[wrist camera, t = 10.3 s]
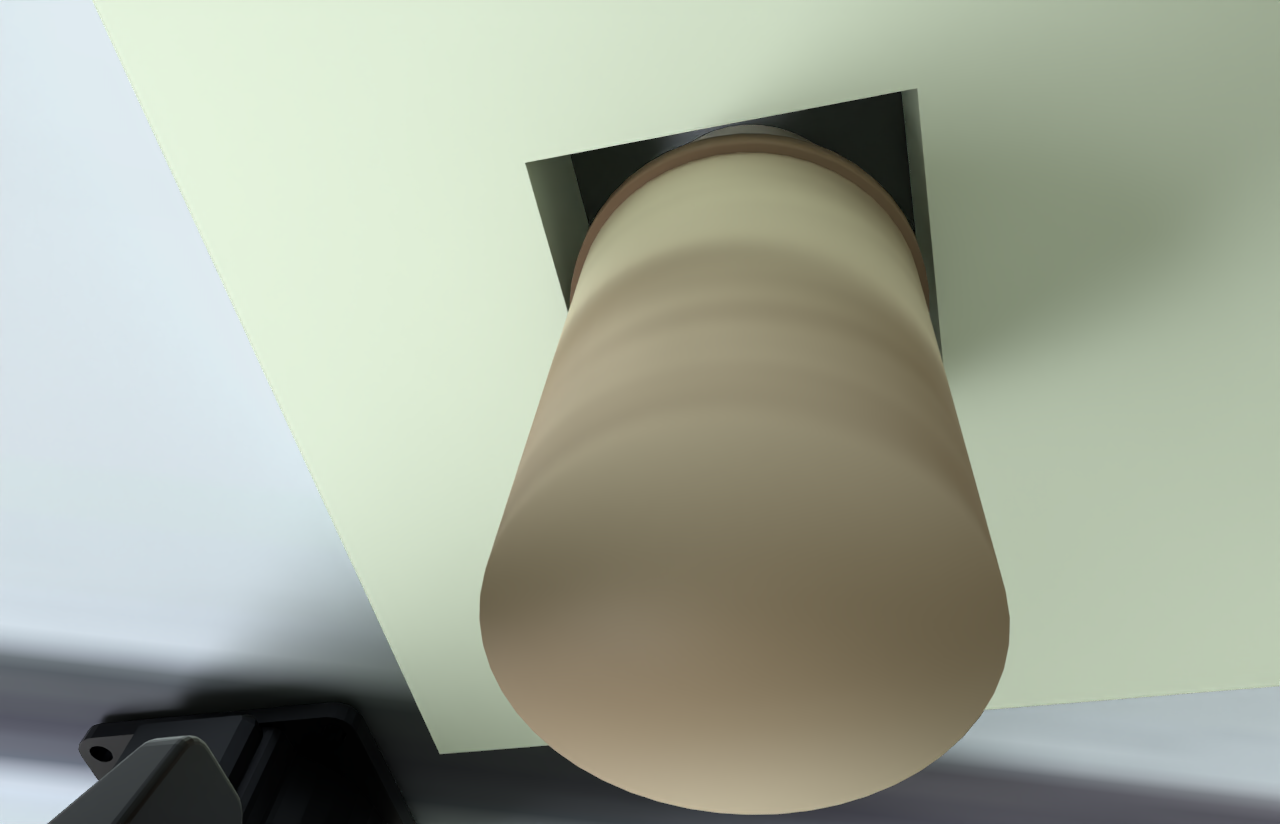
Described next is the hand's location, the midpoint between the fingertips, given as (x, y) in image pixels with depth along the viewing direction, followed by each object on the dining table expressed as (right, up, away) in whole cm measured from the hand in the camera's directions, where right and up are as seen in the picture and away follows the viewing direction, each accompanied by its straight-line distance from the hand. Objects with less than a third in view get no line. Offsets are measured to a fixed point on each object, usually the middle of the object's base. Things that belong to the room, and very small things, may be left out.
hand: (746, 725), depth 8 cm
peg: (+1, +5, +8) cm, 10 cm away
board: (+1, +5, +8) cm, 10 cm away
